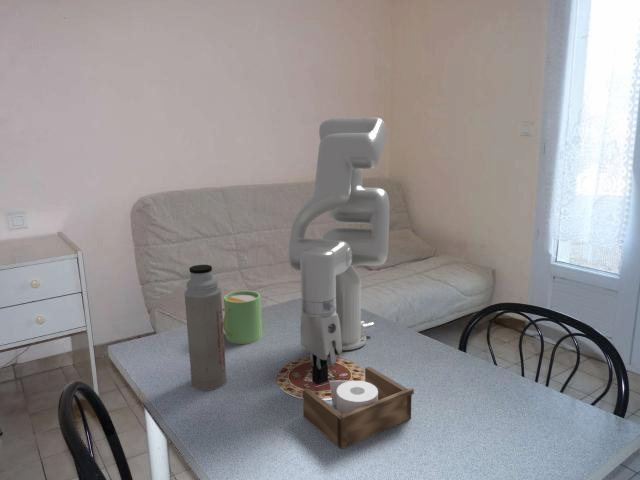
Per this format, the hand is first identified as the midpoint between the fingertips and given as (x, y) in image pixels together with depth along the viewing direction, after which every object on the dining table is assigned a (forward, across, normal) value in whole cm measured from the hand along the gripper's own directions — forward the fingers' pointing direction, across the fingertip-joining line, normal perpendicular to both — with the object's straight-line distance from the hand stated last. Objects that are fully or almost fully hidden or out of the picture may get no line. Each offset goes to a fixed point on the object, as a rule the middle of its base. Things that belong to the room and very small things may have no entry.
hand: (320, 381), depth 114 cm
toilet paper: (+2, -13, +1) cm, 13 cm away
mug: (+2, +37, +2) cm, 37 cm away
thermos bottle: (+2, +18, +19) cm, 26 cm away
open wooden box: (+2, -13, 0) cm, 13 cm away
